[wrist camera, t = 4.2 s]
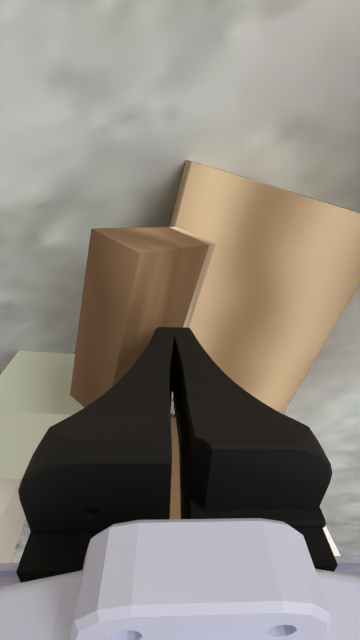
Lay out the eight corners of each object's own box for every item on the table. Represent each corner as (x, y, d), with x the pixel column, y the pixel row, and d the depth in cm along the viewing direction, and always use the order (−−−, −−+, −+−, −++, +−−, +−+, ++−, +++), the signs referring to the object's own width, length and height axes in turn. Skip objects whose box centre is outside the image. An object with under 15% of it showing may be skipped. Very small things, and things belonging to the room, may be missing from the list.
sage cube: (102, 354, 23) (82, 414, 17) (104, 412, 26) (88, 480, 20) (19, 350, 22) (-27, 410, 17) (30, 410, 25) (-6, 478, 20)
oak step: (347, 209, 18) (394, 224, 14) (263, 376, 24) (280, 417, 20) (186, 159, 17) (191, 161, 13) (138, 351, 23) (132, 390, 19)
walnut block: (215, 243, 13) (140, 253, 9) (172, 376, 17) (104, 424, 13) (176, 226, 14) (91, 228, 10) (142, 355, 18) (69, 394, 14)
